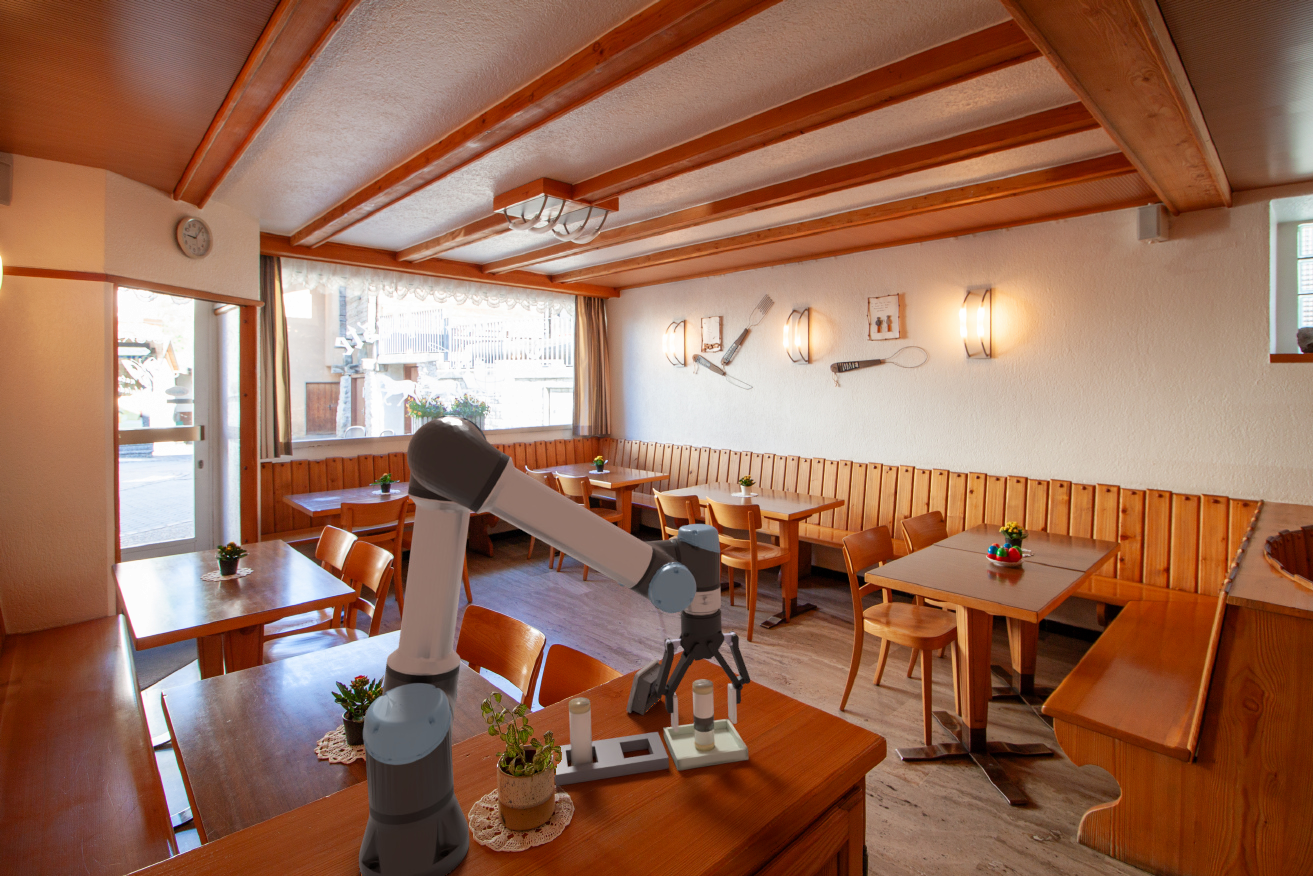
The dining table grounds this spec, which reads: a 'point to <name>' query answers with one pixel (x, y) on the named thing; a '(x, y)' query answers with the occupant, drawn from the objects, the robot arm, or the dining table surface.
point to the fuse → (580, 731)
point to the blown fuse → (703, 715)
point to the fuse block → (614, 759)
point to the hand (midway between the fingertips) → (704, 724)
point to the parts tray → (688, 756)
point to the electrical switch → (644, 688)
